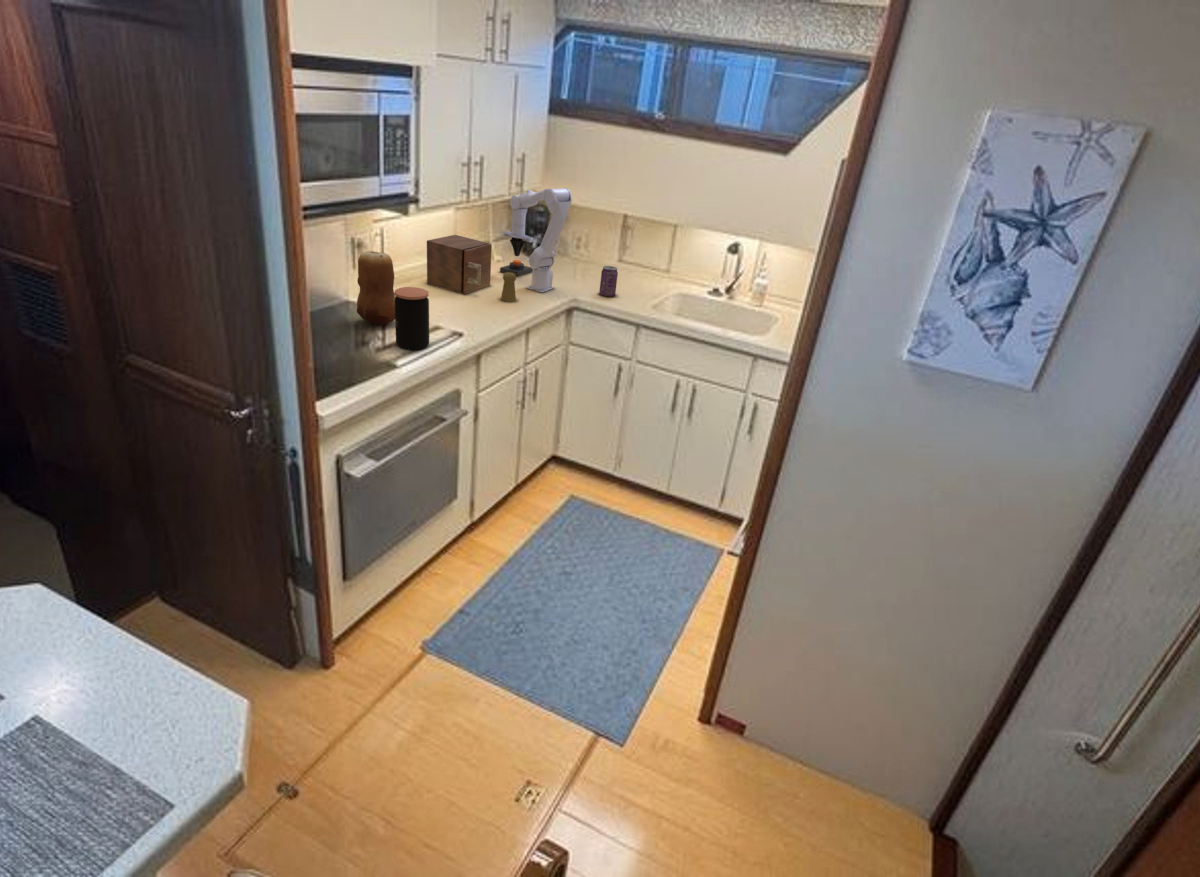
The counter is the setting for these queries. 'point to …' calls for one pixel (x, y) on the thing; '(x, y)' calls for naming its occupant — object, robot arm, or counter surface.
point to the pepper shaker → (509, 287)
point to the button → (516, 262)
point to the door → (477, 268)
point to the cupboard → (448, 261)
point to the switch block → (516, 269)
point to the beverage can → (608, 281)
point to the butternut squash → (376, 288)
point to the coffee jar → (412, 318)
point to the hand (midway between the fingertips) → (517, 255)
